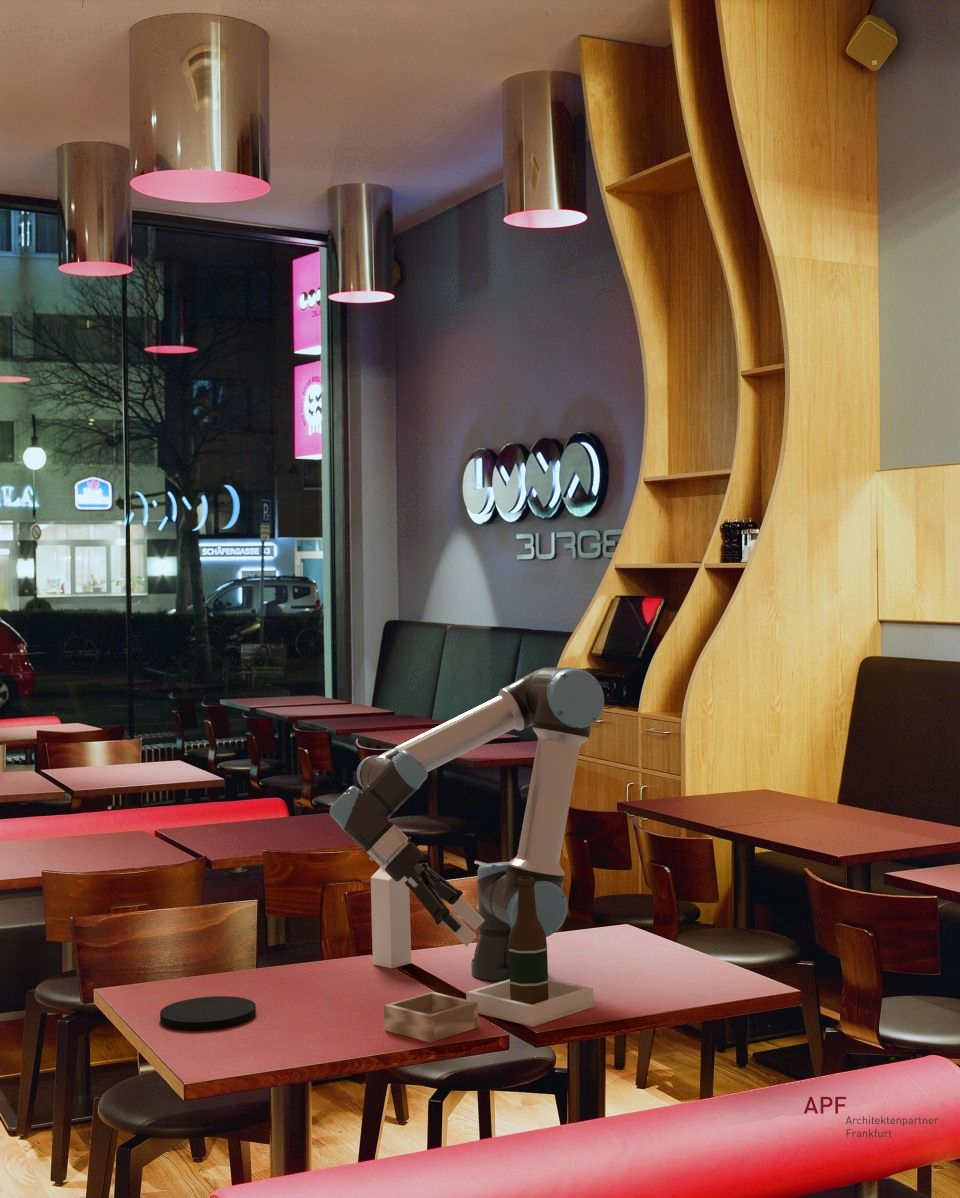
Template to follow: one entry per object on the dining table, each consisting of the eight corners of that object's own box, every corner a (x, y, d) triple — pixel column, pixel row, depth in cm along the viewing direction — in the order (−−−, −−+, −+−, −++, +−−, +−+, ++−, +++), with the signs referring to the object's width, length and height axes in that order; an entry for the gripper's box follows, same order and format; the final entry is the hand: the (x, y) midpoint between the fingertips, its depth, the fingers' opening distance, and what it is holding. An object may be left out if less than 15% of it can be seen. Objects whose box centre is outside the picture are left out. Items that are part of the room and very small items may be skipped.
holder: (384, 1030, 255) (384, 1005, 255) (432, 1015, 263) (432, 991, 263) (430, 1042, 246) (429, 1016, 246) (478, 1027, 255) (477, 1002, 255)
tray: (466, 1010, 266) (466, 991, 266) (527, 991, 278) (527, 974, 278) (532, 1026, 254) (532, 1007, 254) (593, 1006, 266) (592, 988, 266)
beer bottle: (502, 1008, 264) (499, 880, 264) (517, 997, 271) (514, 873, 271) (541, 1012, 261) (537, 882, 261) (555, 1001, 268) (552, 874, 268)
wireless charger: (162, 1037, 255) (162, 1026, 255) (158, 1011, 272) (157, 1001, 272) (261, 1027, 260) (260, 1016, 260) (250, 1002, 277) (250, 992, 277)
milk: (392, 959, 308) (390, 858, 309) (411, 963, 304) (409, 861, 305) (372, 964, 304) (369, 862, 304) (391, 968, 300) (388, 865, 300)
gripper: (394, 857, 282) (470, 932, 280) (371, 880, 257) (454, 963, 255) (419, 830, 282) (495, 905, 280) (399, 851, 257) (482, 933, 255)
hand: (476, 933), depth 267 cm, fingers open, 13 cm apart
